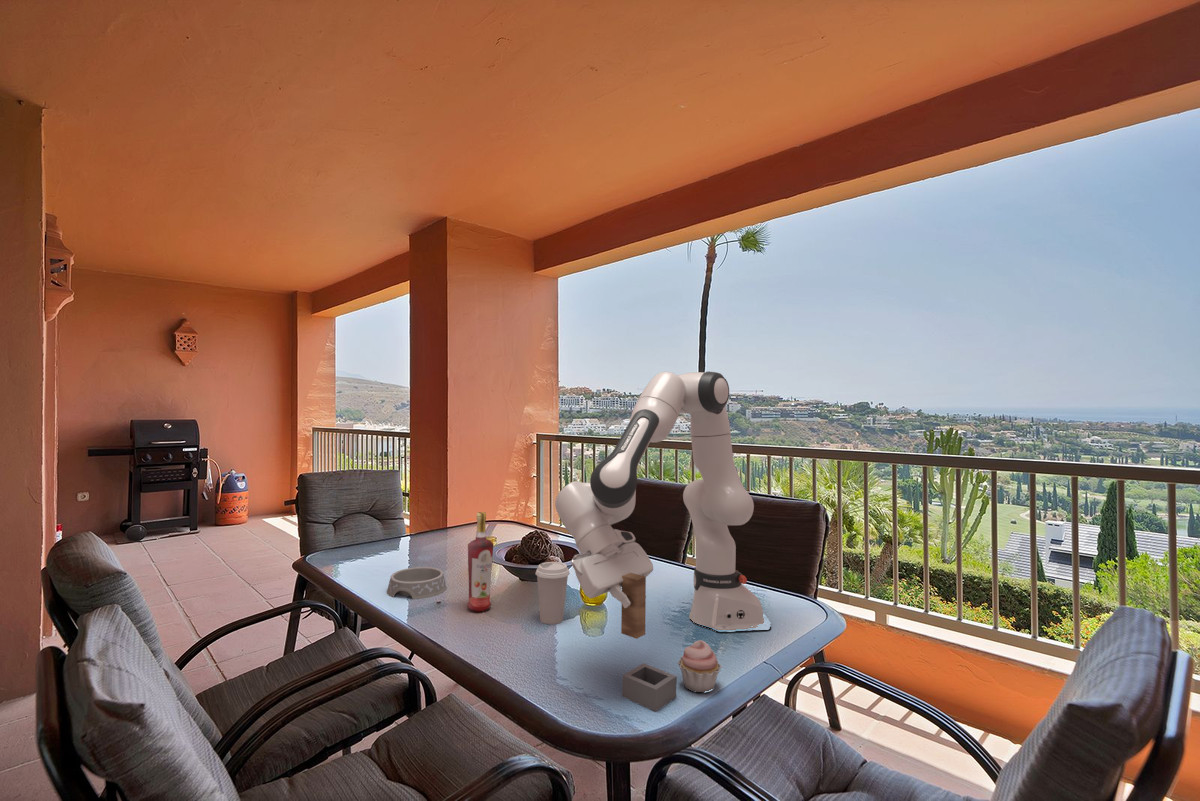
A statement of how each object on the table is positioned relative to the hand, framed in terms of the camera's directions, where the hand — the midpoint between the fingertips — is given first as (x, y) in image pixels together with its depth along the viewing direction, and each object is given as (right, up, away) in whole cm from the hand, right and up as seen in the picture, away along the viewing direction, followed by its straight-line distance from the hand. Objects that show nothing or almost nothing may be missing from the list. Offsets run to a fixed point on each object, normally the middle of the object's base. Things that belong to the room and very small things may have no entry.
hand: (636, 602), depth 113 cm
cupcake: (+14, -19, +3) cm, 24 cm away
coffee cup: (-21, -19, +39) cm, 48 cm away
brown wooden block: (-1, -7, 0) cm, 7 cm away
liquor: (-43, -19, +45) cm, 65 cm away
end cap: (+3, -19, -1) cm, 19 cm away
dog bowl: (-66, -19, +61) cm, 92 cm away
